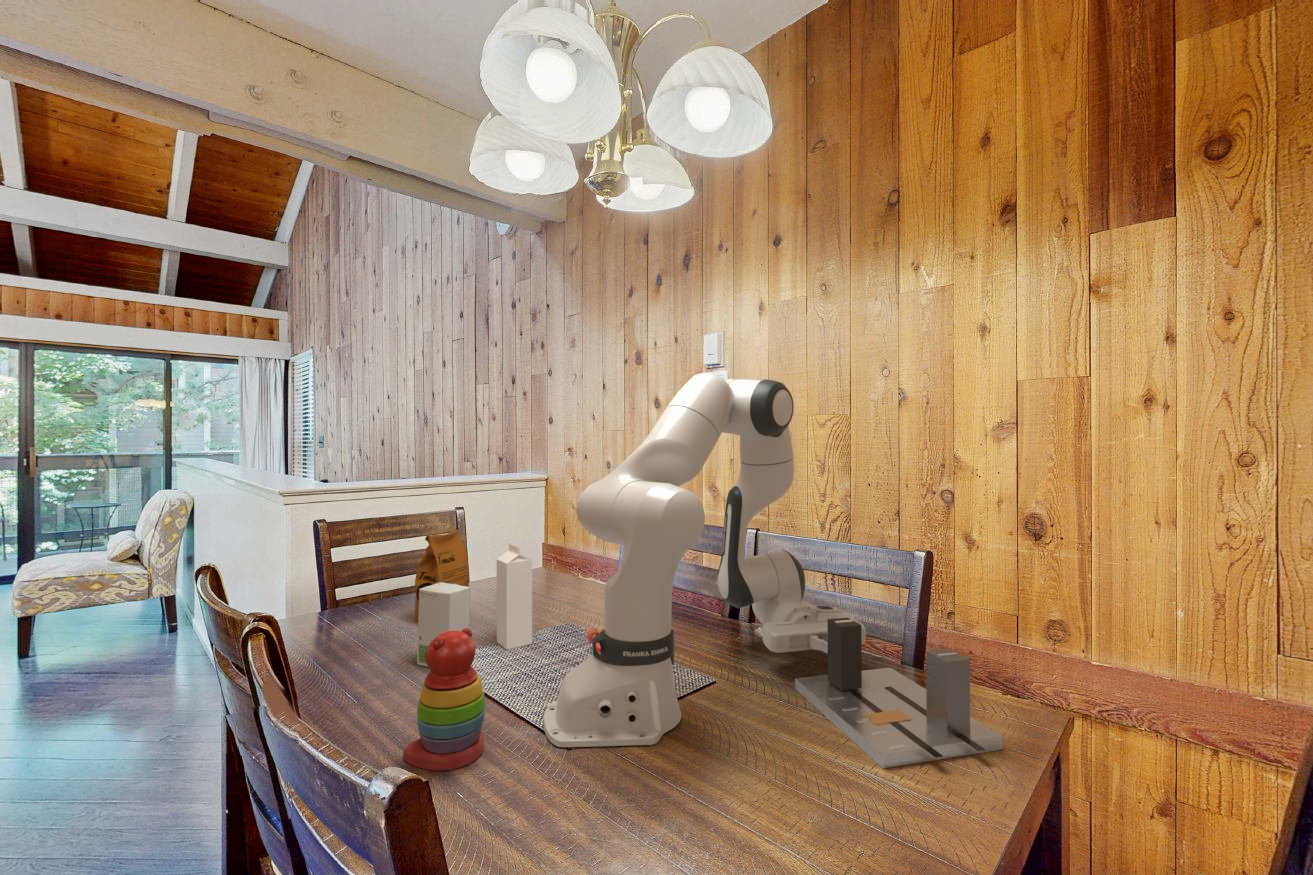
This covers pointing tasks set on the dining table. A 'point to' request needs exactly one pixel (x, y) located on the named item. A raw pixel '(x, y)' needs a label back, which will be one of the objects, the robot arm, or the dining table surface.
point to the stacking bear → (449, 706)
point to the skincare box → (441, 613)
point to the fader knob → (844, 653)
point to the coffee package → (442, 563)
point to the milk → (514, 599)
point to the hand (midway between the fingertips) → (834, 648)
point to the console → (906, 712)
